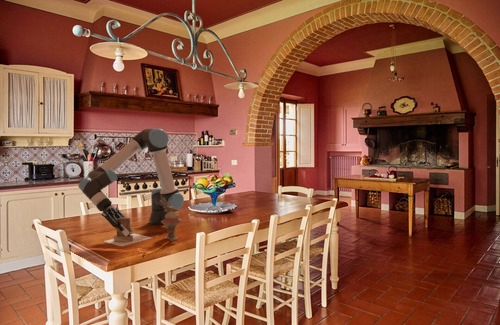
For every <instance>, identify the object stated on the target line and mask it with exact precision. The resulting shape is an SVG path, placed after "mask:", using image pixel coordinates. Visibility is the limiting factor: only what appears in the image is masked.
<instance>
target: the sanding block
mask: <svg viewBox="0 0 500 325" xmlns="http://www.w3.org/2000/svg"><path fill="white" fill-rule="evenodd" d="M117 220H118V221H119V222H120V225H121V224H122V225H123V226H124V227H125V228H126V229H127V230H128V231H129V232H130V226H131V217H126V218H118V219H117ZM113 239H114V241H122V242H130V241H132V240H133V235H130V233H129V234H128V235H127V236H125V235H124V234H123V233H122V232H121V231H120V229H119V228H118V227H117V228H116V235H114V236H113Z"/></svg>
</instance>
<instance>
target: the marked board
mask: <svg viewBox="0 0 500 325" xmlns="http://www.w3.org/2000/svg"><path fill="white" fill-rule="evenodd" d="M130 235H133V240H132V241H130V242H122V241H114V238H111V239H107V240H103V242H104V243H108V244H112V245H115V246H118V247H125V246H128V245H129V246H130V245H131V244H136V243H139V242H144V241H146V240H149V239H150V240H151V239H152V236H151V237H150V236H147V235H143V234H138V233H132V234H130Z"/></svg>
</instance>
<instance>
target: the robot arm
mask: <svg viewBox="0 0 500 325" xmlns="http://www.w3.org/2000/svg"><path fill="white" fill-rule="evenodd" d="M169 141H170V140H169V135H168V133H167V132H166V131H165V130H163V129H162V128H156V127H154V128H145V129H143V130H141V131H139V132H138V133H137V134H135V135H134V136H133V137H132V138H130V139H129V142H128V143H127V144H126V145H124V146H123V147H122V148H121V149H119V150H118V151H117V152H116V153H114V154H113V155H112V156H111V157H110V158H109V159H107V160H106V161H105V162H103V163H102V164H101V165H100V166H98V167H97V168H96V169H94V170H91V171H89V172H88V174H87V176H86V178H84V179H82V180H81V181H80V182H79V183H78V188H79V190H80V191H81V192H82V193H83V194H84V195H85V197H87V198H88V200H89V201H90V202H91V204H93V205H94V206H95V208H96V209H97V210H98V211H99V212H102V213H101V217H103V218H104V219H105V220H106V221H107V222H108V223H109V224H110V225H111V226H112V227H113V228H115V229H117V227H118V228H119V229H120V231H121V232H122V233H123V234H124V235H125V236H127V235H128V234H129V233H130V234H134V232H135V230H134V229H133V227H132V226H131V225H130V232H129V231H128V230H127V229H126V228H125V227H124V226H123V225H122V224H121V225H120V222H119V221H118V220H117V219H118V218H127V217H126V216H125V215H124V214H123V213H122V211H121V210H120V209H119V207H118V206H116V207H114V206H113V205H112V204H113V203H112V201H111V199H110V198H109V197H108V196H107V194H105V193H104V192H103V190H104V189H105V188H107V187H108V186H109V185H112V184H113V183H114V182H115V181H117V180H118V176H117V175H118V174H116V170H117V169H119V168H120V167H121V166H122V165H123V164H124V163H126V162H127V161H128V160H130V159H131V157H133V156H134V155H135V154H137V153H138V152H142V151H143V150H145V149H148V150H147V151H148V152H149V153H150V154H151V155H152V159H153V162H154V166H155V170H156V173H157V176H158V180H159V181H158V182H159V184H160V188H157V189H156V188H155V189H152V190H151V193H150V198H151V212H150V216H149V219H148V224H150V225H156V226H157V225H159V226H160V225H164V224H163V223H161V221H162V220H165V215H166V214H167V213H168V212H165V211H164V210H165V208H163V207H166V206H165V205H163V204H162V203H161V202H160V200H161V201H162V202H163V203H165V202H164V200H163V198H165V200H166V202H167V204H168V206H169V207H170V206H173V207H174V208H175V209H178V210H179V209H181V207H182V206H183V205H184V202H185V199H184V196H183V195H182V193H180V191H179V188H178V187H177V186H176V185H175V181H174V178H173V173H172V171H171V167H170V163H169V162H170V161H169V158H168V155H167V149H168V144H169V143H168V142H169Z"/></svg>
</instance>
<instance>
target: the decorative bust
mask: <svg viewBox="0 0 500 325" xmlns="http://www.w3.org/2000/svg"><path fill="white" fill-rule="evenodd" d="M163 200H164V202H165V203H163V202H162V201H161V200H160V202H161V203H162V204H163V205H165V206H166V207H163V208H165V210H164V211H165V212H168V213H167V214H166V215H165V220H162V221H161V223H163V224H162V225H163V226H165V227H166V229H167V230H166V231H167V236H165V239H167V242H174V241H175V242H177V241H178V236H177V235H175V232H176V227H177V225H179V224H181V223H182V222H183V220H182V219H180V218H179V214H178V213H177V212H178V211H179V209H175V208H174V207H173V206H170V207H169V206H168V204H167V202H166V200H165V198H163Z"/></svg>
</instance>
